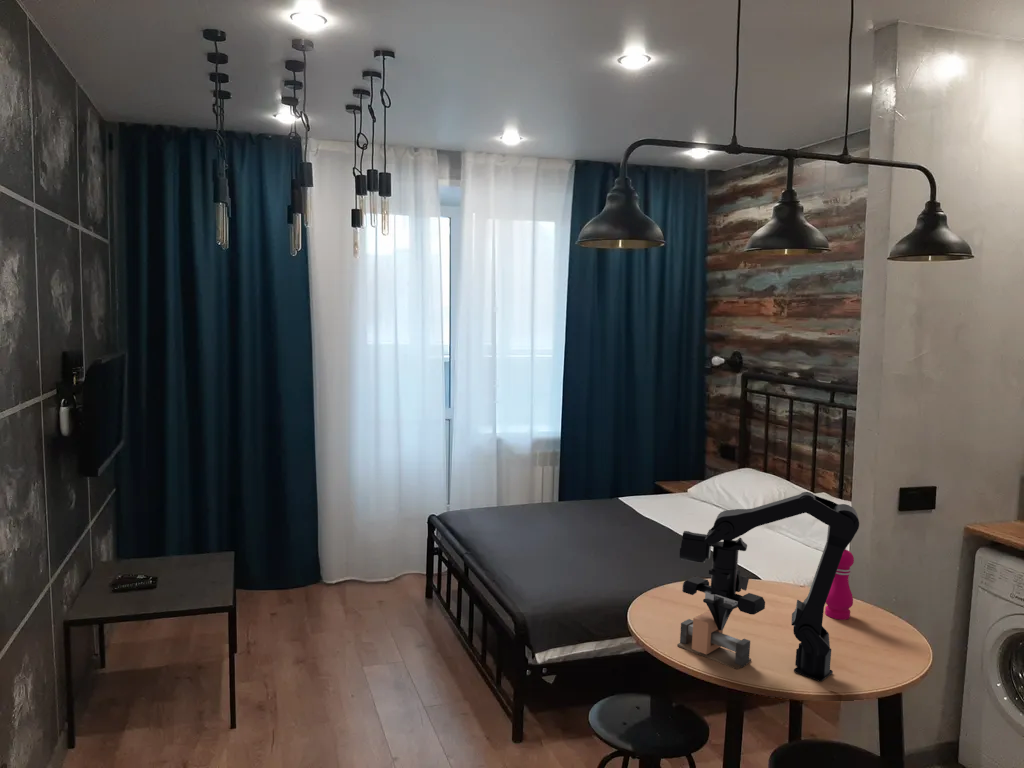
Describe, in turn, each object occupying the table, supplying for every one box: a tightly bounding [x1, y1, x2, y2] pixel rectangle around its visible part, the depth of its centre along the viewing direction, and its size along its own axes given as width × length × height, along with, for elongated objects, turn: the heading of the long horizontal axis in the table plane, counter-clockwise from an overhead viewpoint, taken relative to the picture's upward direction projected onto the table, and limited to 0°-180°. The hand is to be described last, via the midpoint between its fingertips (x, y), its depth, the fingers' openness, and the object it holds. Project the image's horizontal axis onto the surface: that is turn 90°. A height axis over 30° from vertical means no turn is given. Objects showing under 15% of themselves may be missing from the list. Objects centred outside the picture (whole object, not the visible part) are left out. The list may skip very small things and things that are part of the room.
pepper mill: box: [824, 547, 855, 621], centre depth 208 cm, size 7×7×20 cm
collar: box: [692, 610, 724, 655], centre depth 185 cm, size 4×7×8 cm, turn 135°
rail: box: [677, 618, 752, 670], centre depth 184 cm, size 16×6×5 cm, turn 45°
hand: (720, 629), depth 182 cm, fingers closed
